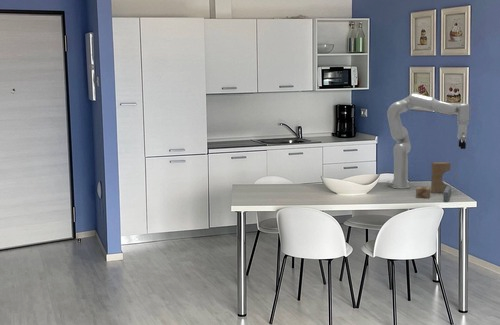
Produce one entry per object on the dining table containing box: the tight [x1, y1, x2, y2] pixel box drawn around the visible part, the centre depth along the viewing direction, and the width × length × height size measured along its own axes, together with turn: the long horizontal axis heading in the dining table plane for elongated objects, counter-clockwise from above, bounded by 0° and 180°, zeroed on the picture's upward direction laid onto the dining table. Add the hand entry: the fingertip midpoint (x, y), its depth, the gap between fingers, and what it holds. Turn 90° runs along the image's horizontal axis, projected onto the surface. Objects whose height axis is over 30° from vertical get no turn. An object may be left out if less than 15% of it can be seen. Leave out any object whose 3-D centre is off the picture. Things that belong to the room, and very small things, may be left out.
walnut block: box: [415, 186, 431, 199], centre depth 450 cm, size 8×8×6 cm
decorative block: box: [430, 161, 451, 194], centre depth 463 cm, size 11×6×20 cm, turn 96°
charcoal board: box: [442, 185, 452, 203], centre depth 445 cm, size 2×24×6 cm, turn 160°
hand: (462, 147), depth 463 cm, fingers open, 9 cm apart
